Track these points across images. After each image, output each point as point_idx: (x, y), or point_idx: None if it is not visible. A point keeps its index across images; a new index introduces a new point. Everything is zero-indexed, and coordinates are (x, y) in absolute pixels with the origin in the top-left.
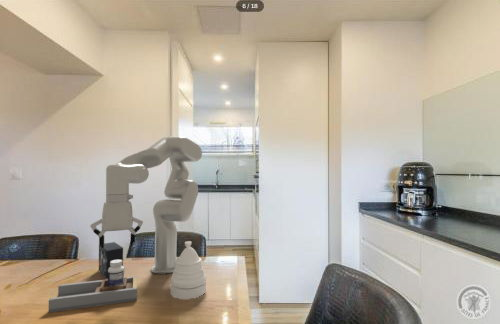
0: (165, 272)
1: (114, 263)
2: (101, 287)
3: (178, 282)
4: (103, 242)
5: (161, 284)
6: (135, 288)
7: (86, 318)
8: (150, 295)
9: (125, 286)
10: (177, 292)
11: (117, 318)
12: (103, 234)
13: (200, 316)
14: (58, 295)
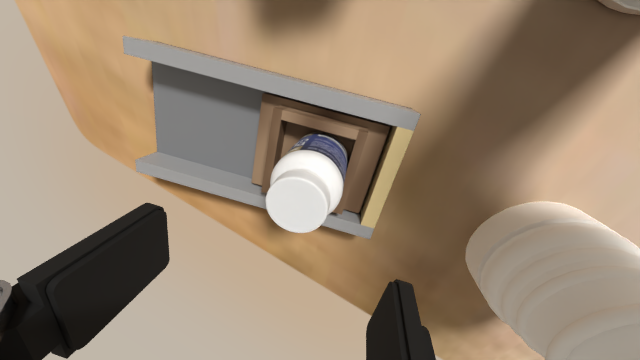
0: (621, 8)
1: (284, 227)
2: (265, 186)
3: (494, 310)
4: (131, 294)
5: (499, 142)
6: (366, 233)
7: (248, 236)
8: (416, 209)
9: (340, 212)
10: (476, 282)
11: (305, 272)
12: (25, 320)
13: (452, 354)
14: (154, 65)
